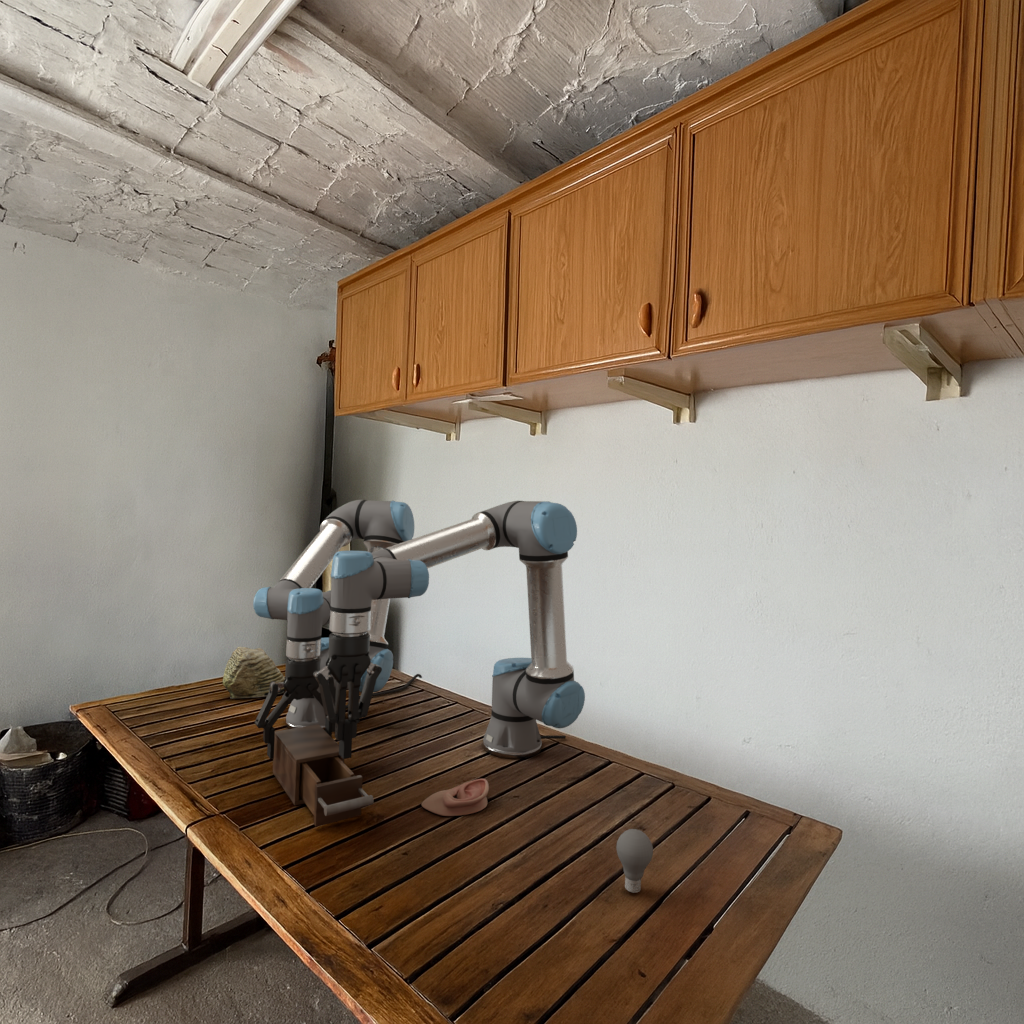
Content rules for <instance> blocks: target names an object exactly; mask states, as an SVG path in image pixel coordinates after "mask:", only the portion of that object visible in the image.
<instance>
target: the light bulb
mask: <svg viewBox="0 0 1024 1024" xmlns="http://www.w3.org/2000/svg"><path fill="white" fill-rule="evenodd" d="M615 849H616V854H617V857H618V859H619V861H620V863H621V865H622V867H623V873H624V874H623V875H624V876H625V878H624V888H625V890H627V891H628V892H630V893H634V894H635V893H639V892H640V891H641V889H642V887H641V886H642V879H643V877H644V875H645V871H646V868H647V867H648V866H649V864H650V863H651V861H652V859H653V855H654V847H653V843H652V841H651V838H649V836H648V835H647V834H646V833H645V832H643V831H642V830H641V829H636V828H629V829H627V830H625V831H623V832H622V833H621V834H620V835H619V837H618V839H617V841H616V847H615Z"/></svg>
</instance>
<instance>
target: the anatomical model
mask: <svg viewBox="0 0 1024 1024" xmlns="http://www.w3.org/2000/svg"><path fill="white" fill-rule="evenodd" d="M489 787H490V785H489V782H488V780H487V779H486V778H477V779H473V780H469V781H467V782H464V783H461V784H459V785H456V786H454V787H452V788H449V789H445V790H439V791H437V792H434V793H432V794H430V795H429V796H427V797H426V798H425V799H424V800H423V801H422V802H421V807H422V808H423V809H425V810H427V811H429V812H431V813H432V814H436V815H438V816H443V817H455V816H456V817H457V816H466V815H470V814H474V813H477V812H481V811H482V810H484V809H485V808H486V807H487V806H488V797H487V795H488V794H489V791H490V790H489Z"/></svg>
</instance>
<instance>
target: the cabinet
mask: <svg viewBox="0 0 1024 1024" xmlns="http://www.w3.org/2000/svg"><path fill="white" fill-rule="evenodd" d="M334 756H338V757H339V758H340V759H341V761H342V762H343V763H344V764H345V759H343V758H342V757H341V756H340V755H339V742H338V741H337V740H335V739H334V738H333V736H332V737H331V736H330V735H329V734H328V733H327V732H326V731H325V730H324V729H323V728H322V727H321V726H320V725H319V724H317V725H311V726H305V727H299V728H293V729H289V728H287V729H282V730H275V739H274V759H272V774H273V775H274V777H275V778H276V780H277V782H278V783H279V785H280V786H281V787H282V789H283V790H284V793H286V795H287V796H288V798H289V799H290V802H291V803H292V804H293V805H294V806H300V805H303V804H305V802H304V801H303V800H302V798H301V797H300V795H299V782H300V763H303V762H308V761H313V760H318V759H323V758H328V757H334Z"/></svg>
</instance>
